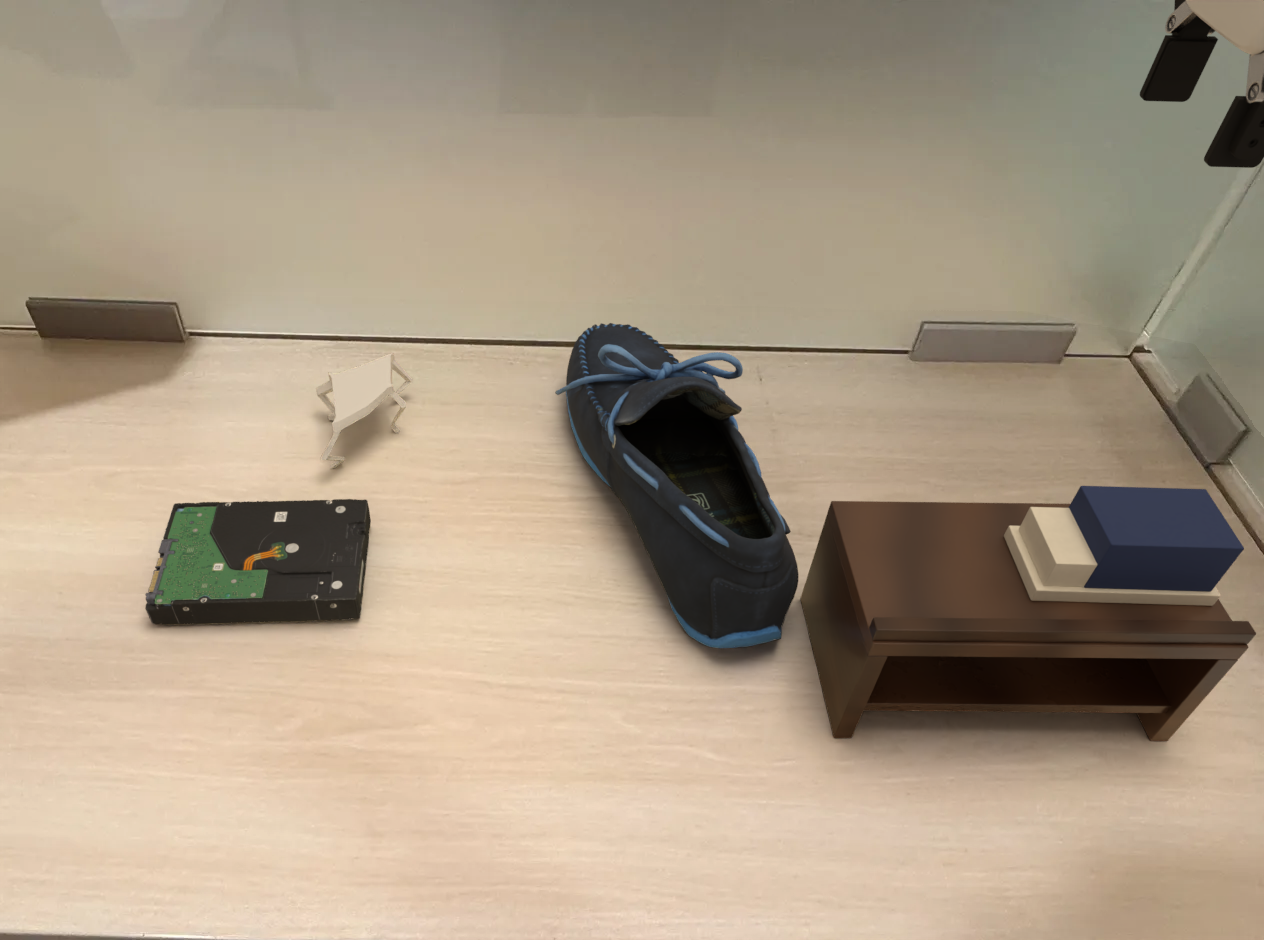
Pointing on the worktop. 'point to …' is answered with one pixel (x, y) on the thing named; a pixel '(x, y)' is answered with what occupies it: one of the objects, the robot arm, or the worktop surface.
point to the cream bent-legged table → (360, 395)
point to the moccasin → (684, 482)
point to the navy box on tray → (1125, 547)
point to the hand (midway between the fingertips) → (1194, 130)
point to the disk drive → (261, 562)
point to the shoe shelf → (990, 626)
